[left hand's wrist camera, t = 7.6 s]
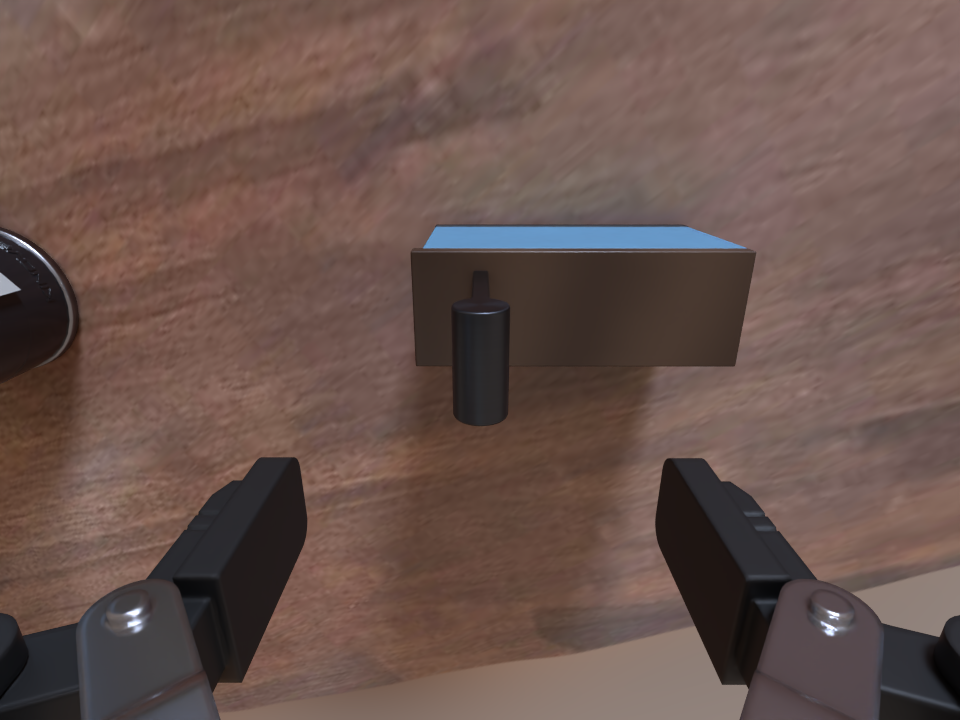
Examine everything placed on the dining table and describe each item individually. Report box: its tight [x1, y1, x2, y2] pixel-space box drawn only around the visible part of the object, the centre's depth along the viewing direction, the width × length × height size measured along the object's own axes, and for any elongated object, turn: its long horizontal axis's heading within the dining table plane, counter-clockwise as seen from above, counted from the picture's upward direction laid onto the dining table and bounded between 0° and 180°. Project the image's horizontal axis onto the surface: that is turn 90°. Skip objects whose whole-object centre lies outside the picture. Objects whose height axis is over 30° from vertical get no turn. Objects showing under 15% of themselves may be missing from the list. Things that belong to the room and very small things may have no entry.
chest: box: [423, 225, 745, 248], centre depth 30 cm, size 15×6×9 cm, turn 90°
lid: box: [411, 248, 756, 426], centre depth 22 cm, size 16×6×8 cm, turn 90°
